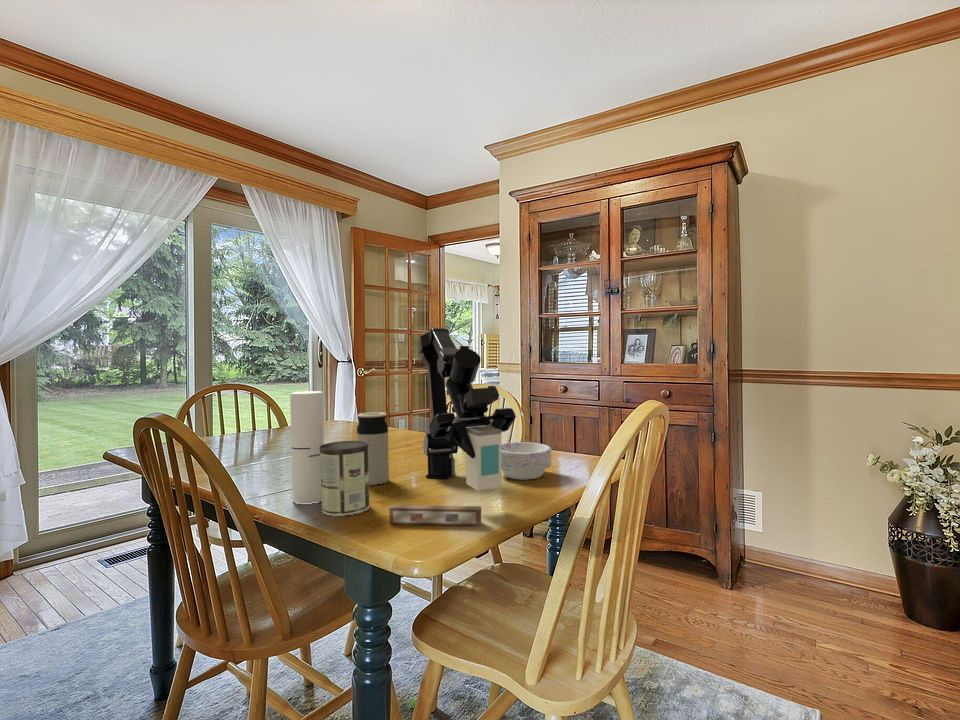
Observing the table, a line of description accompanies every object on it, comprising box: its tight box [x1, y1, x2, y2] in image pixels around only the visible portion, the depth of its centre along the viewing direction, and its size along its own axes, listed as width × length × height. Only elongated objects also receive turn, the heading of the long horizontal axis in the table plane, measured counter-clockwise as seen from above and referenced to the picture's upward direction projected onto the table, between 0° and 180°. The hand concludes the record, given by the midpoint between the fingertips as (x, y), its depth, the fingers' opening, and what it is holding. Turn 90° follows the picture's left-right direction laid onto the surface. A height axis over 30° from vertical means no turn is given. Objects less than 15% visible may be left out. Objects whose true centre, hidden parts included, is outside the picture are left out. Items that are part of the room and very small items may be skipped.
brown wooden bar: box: [389, 504, 482, 527], centre depth 98 cm, size 18×3×3 cm, turn 84°
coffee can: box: [319, 440, 371, 517], centre depth 109 cm, size 10×10×14 cm
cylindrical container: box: [289, 390, 325, 503], centre depth 116 cm, size 7×7×25 cm
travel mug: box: [356, 411, 390, 486], centre depth 131 cm, size 8×8×18 cm
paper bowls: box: [501, 441, 552, 481], centre depth 135 cm, size 15×15×8 cm
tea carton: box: [465, 426, 502, 492], centre depth 105 cm, size 6×6×12 cm
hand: (486, 455), depth 104 cm, fingers closed on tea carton, 5 cm apart
